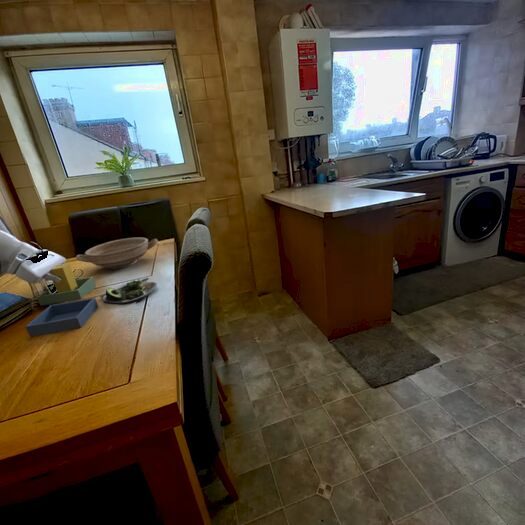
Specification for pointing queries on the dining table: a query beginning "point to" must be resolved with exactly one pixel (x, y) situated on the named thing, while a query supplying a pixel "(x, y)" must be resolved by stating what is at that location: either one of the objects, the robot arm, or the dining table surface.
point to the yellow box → (64, 278)
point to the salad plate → (129, 292)
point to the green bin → (68, 292)
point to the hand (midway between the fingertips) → (64, 277)
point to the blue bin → (62, 317)
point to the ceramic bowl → (117, 252)
